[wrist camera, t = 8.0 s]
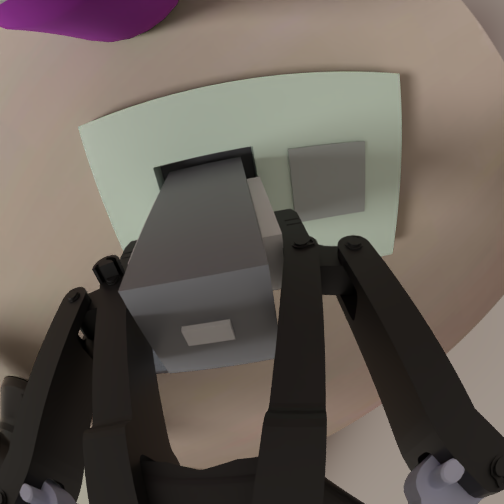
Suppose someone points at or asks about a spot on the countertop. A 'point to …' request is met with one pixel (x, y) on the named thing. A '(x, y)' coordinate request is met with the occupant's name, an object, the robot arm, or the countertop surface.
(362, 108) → the outlet plate
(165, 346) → the brick
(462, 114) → the countertop surface
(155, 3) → the beverage can
